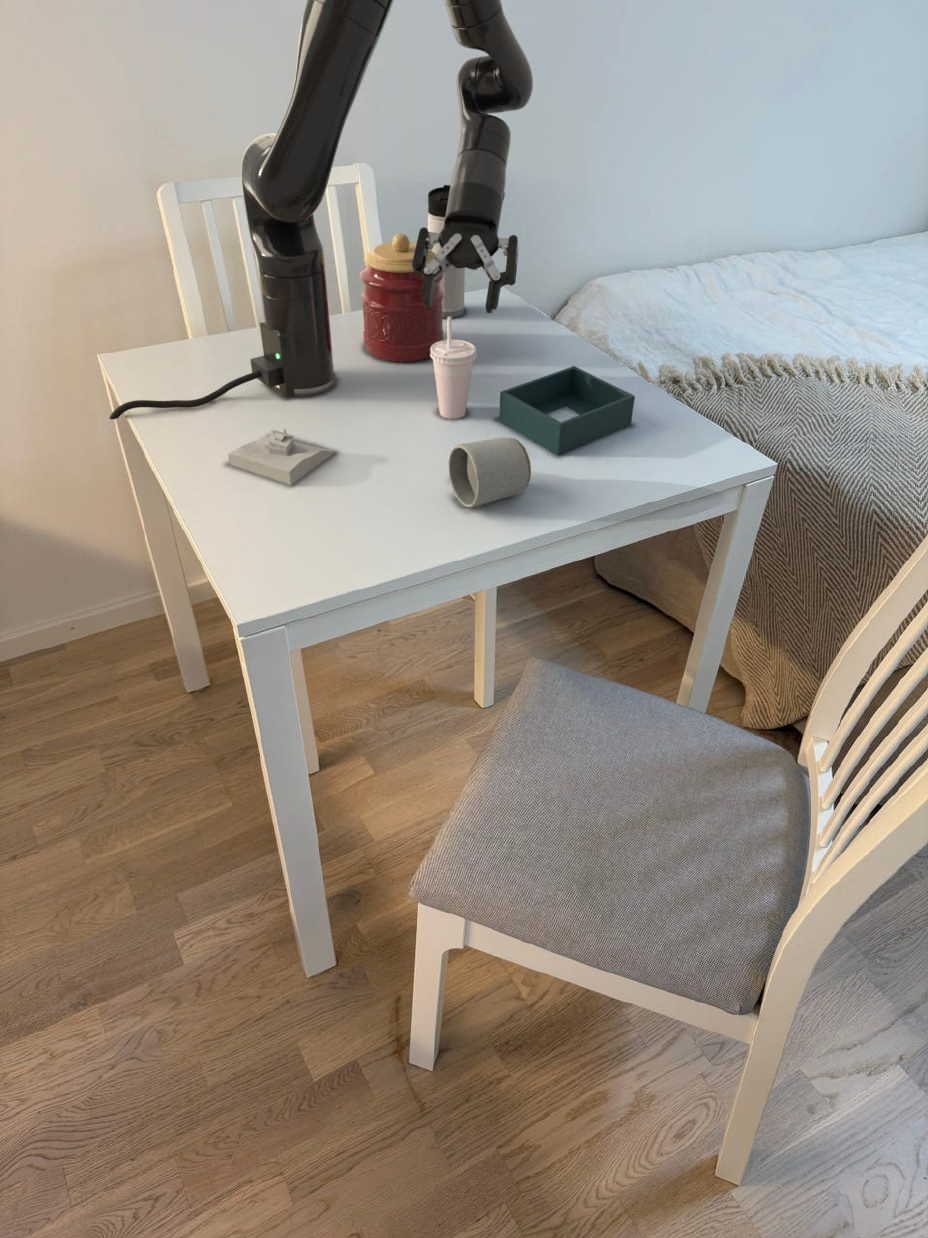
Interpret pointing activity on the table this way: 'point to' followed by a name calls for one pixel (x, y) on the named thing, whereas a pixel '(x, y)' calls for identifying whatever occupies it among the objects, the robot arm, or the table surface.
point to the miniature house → (278, 457)
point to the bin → (576, 390)
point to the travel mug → (453, 276)
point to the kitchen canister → (398, 304)
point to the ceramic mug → (488, 470)
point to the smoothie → (452, 373)
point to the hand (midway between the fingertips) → (458, 307)
